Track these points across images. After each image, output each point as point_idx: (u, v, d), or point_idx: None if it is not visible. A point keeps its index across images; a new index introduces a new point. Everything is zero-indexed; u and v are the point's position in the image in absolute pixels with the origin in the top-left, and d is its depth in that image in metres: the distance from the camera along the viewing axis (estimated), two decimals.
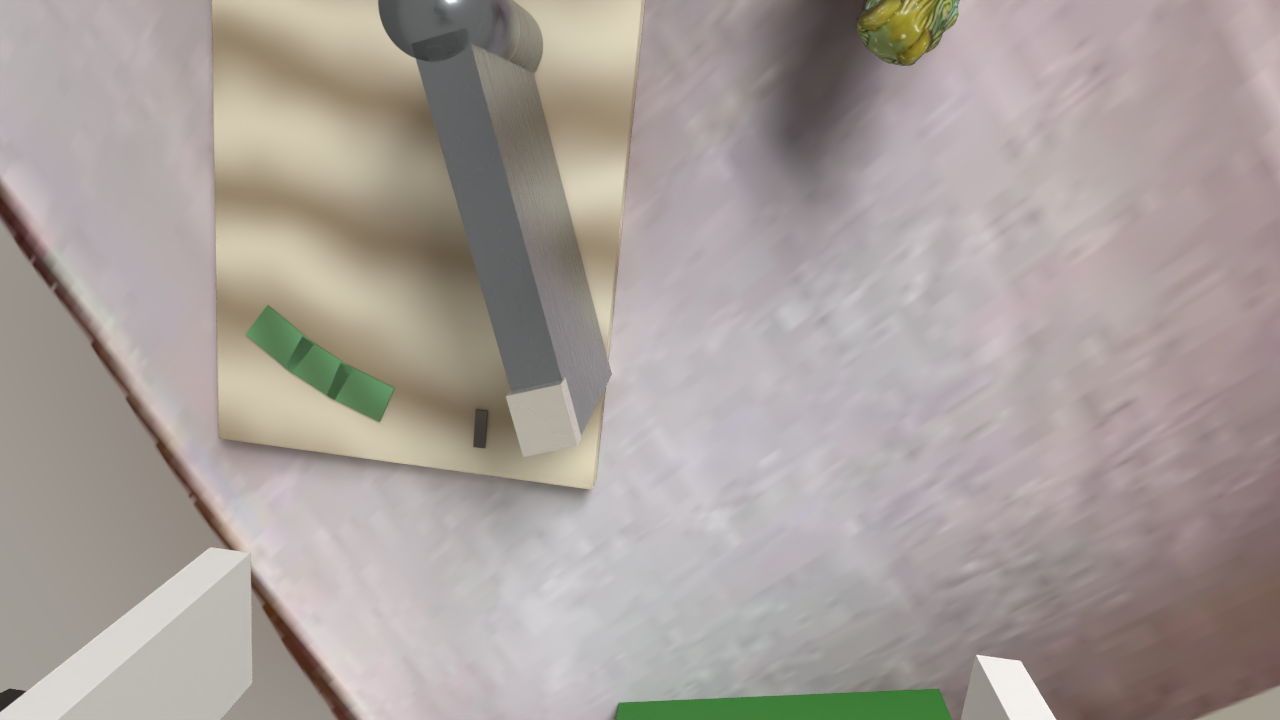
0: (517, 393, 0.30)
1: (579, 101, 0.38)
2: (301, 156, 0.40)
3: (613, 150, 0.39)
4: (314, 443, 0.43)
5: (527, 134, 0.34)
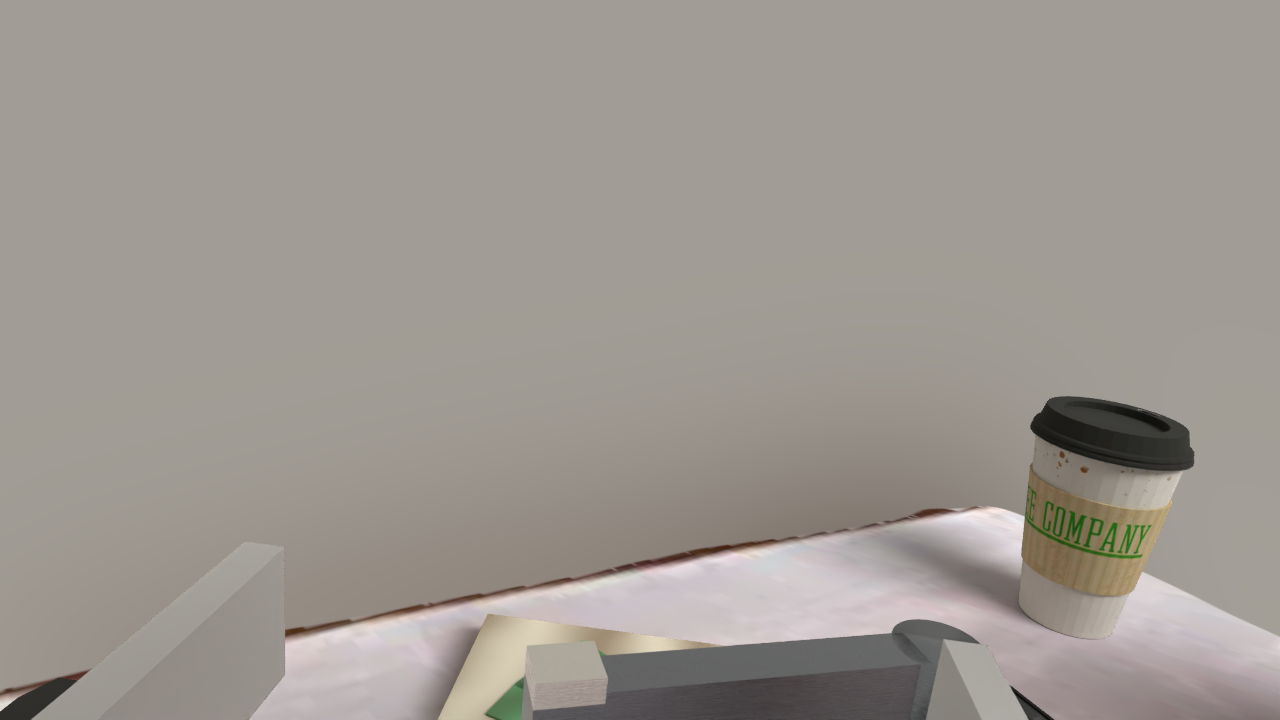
0: (596, 650, 0.29)
1: None
2: None
3: None
4: (470, 667, 0.44)
5: None
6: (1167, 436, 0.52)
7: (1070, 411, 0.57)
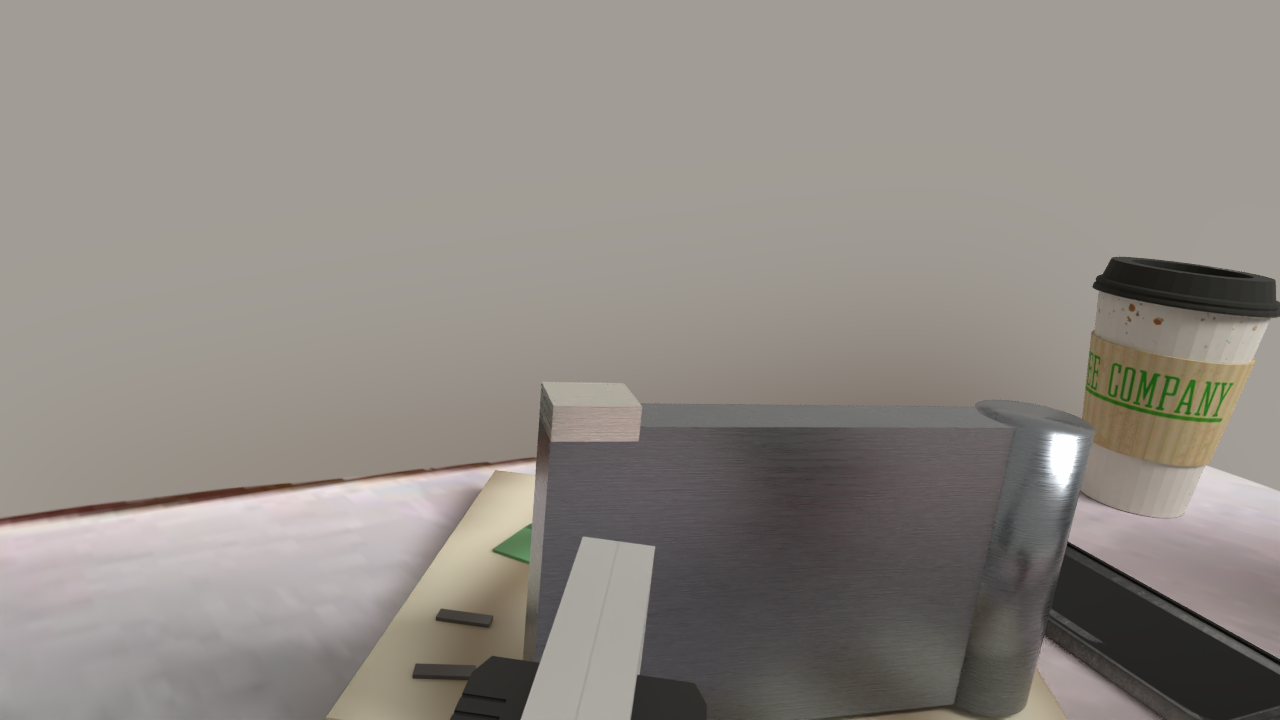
0: None
1: None
2: None
3: None
4: (475, 512, 0.39)
5: (902, 583, 0.26)
6: (1252, 280, 0.47)
7: None
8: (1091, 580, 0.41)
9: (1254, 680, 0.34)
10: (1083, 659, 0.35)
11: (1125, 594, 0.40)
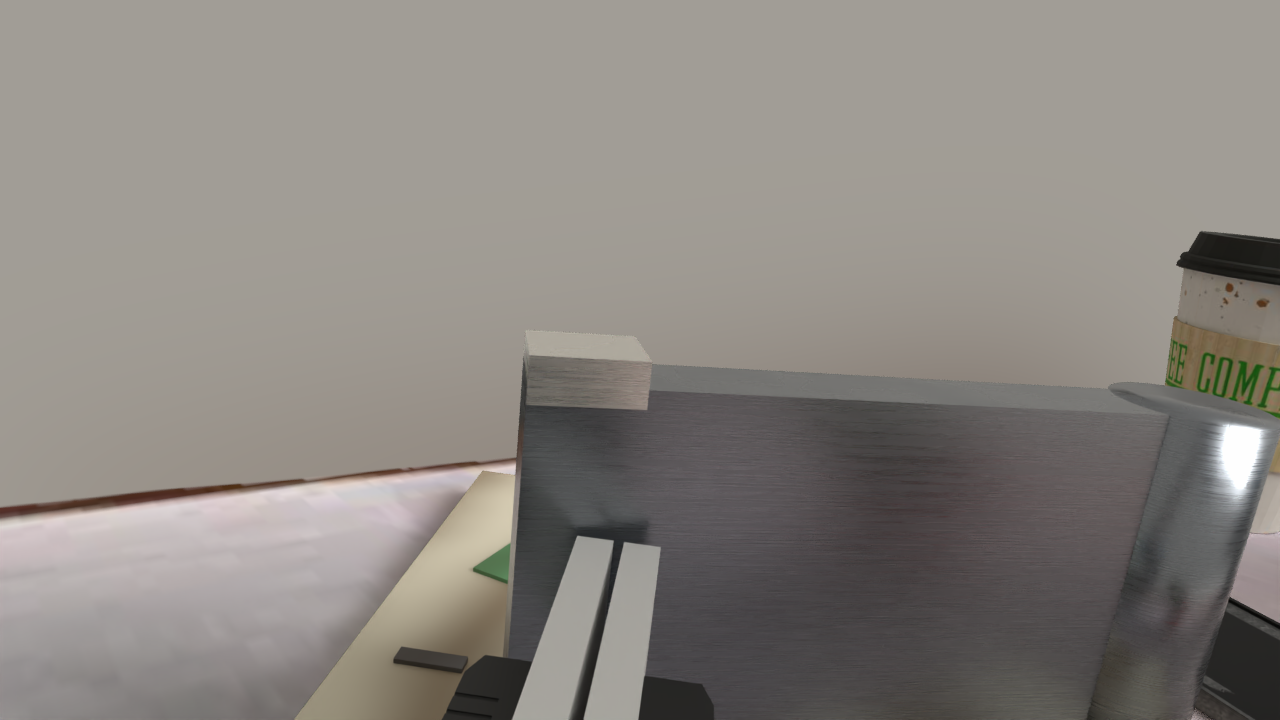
0: None
1: None
2: None
3: None
4: (455, 521, 0.33)
5: (1005, 620, 0.20)
6: None
7: None
8: None
9: None
10: (1208, 713, 0.28)
11: (1245, 629, 0.33)
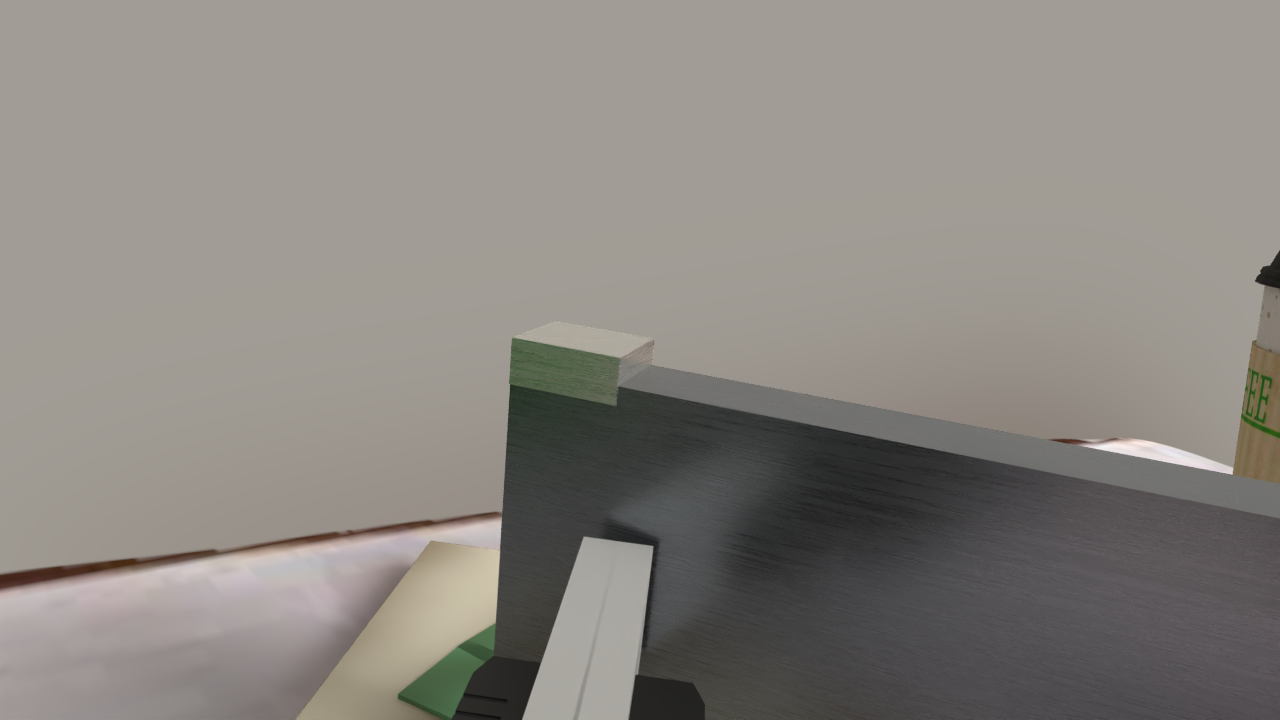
0: (647, 345, 0.18)
1: None
2: None
3: None
4: (386, 618, 0.26)
5: None
6: None
7: None
8: None
9: None
10: None
11: None
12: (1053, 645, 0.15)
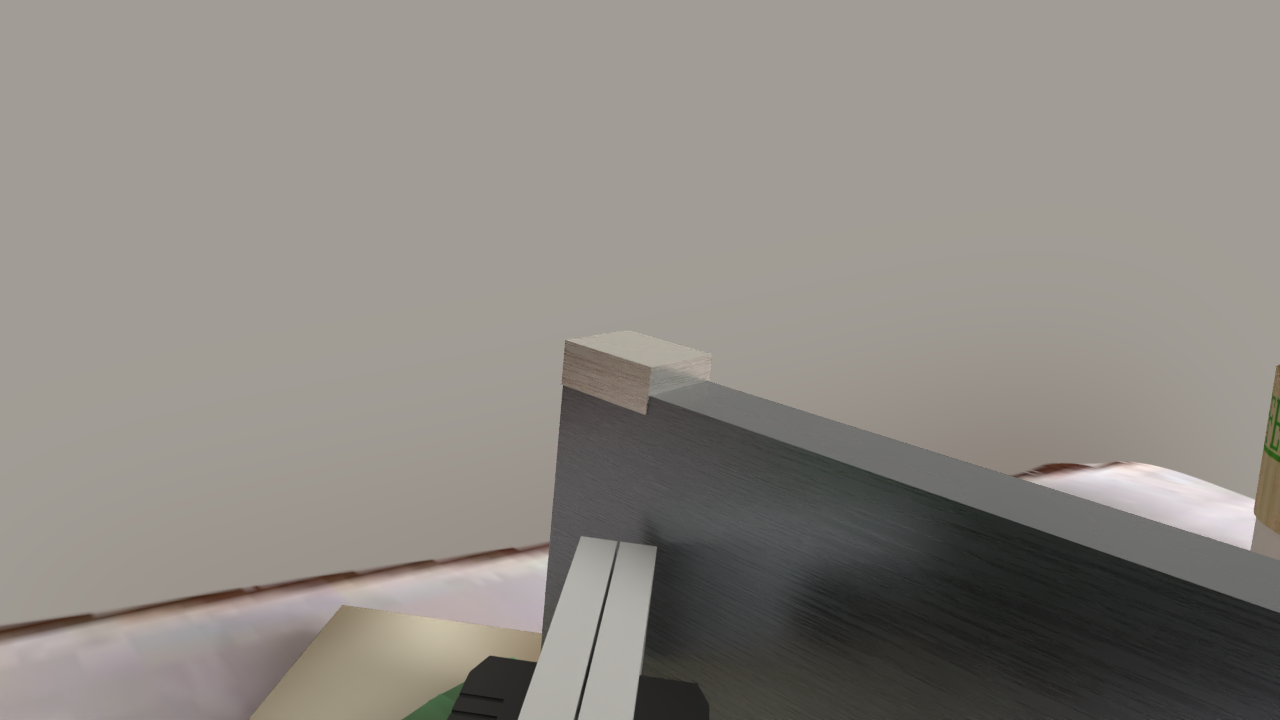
0: (699, 360, 0.18)
1: None
2: None
3: None
4: (270, 714, 0.21)
5: None
6: None
7: None
8: None
9: None
10: None
11: None
12: None
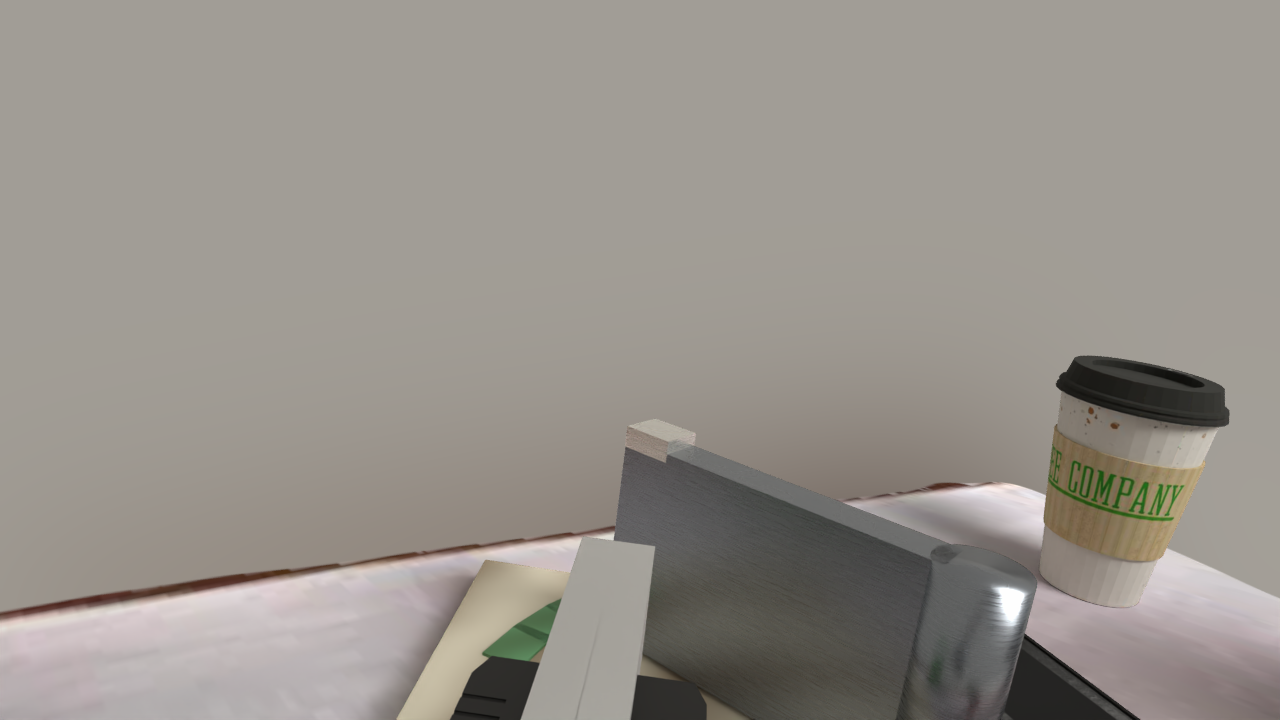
0: (690, 436, 0.38)
1: None
2: None
3: None
4: (466, 609, 0.42)
5: (832, 651, 0.33)
6: (1202, 391, 0.50)
7: None
8: (1048, 682, 0.43)
9: None
10: None
11: (1078, 698, 0.42)
12: (828, 597, 0.33)
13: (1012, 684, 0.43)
